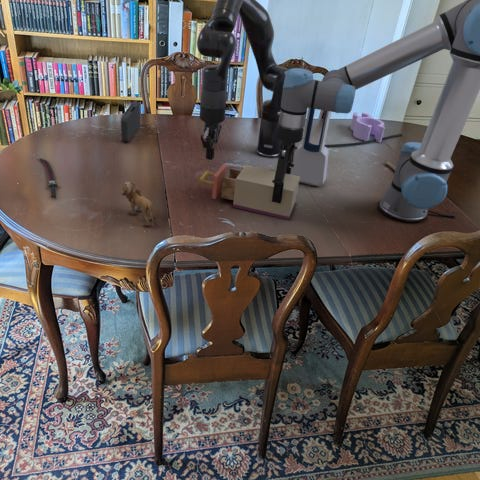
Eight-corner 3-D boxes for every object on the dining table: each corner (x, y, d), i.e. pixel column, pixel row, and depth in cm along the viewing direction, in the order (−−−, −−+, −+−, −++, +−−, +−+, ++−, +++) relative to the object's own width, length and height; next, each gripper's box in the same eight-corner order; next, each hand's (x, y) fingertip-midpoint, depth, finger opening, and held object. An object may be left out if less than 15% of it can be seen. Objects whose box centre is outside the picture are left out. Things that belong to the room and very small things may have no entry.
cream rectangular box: (232, 206, 146) (235, 178, 141) (242, 191, 155) (245, 164, 150) (288, 219, 143) (293, 191, 137) (295, 203, 152) (300, 176, 147)
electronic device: (325, 180, 169) (342, 97, 152) (321, 188, 163) (339, 103, 146) (292, 173, 172) (306, 91, 155) (287, 181, 165) (301, 96, 149)
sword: (61, 197, 141) (61, 193, 140) (50, 198, 139) (50, 194, 139) (49, 160, 164) (48, 156, 163) (39, 160, 163) (39, 157, 162)
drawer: (195, 194, 148) (197, 172, 144) (206, 181, 156) (207, 160, 152) (262, 209, 144) (265, 187, 140) (269, 196, 152) (273, 174, 148)
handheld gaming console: (134, 123, 200) (133, 100, 195) (140, 124, 200) (140, 100, 195) (121, 142, 181) (119, 117, 175) (128, 143, 181) (127, 118, 175)
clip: (343, 126, 223) (346, 112, 219) (367, 127, 225) (371, 113, 221) (360, 142, 206) (364, 127, 202) (386, 142, 209) (390, 127, 205)
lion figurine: (118, 210, 138) (116, 182, 133) (132, 204, 141) (131, 177, 137) (151, 229, 130) (150, 201, 126) (165, 223, 134) (165, 195, 129)
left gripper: (208, 96, 143) (205, 149, 152) (193, 107, 132) (191, 164, 141) (231, 100, 141) (227, 153, 151) (218, 112, 130) (214, 169, 140)
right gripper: (286, 112, 144) (276, 176, 156) (269, 136, 124) (259, 208, 136) (309, 116, 143) (298, 181, 154) (296, 141, 123) (284, 213, 135)
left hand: (209, 158), depth 146 cm, fingers closed
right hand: (280, 193), depth 145 cm, fingers closed on cream rectangular box, 11 cm apart
